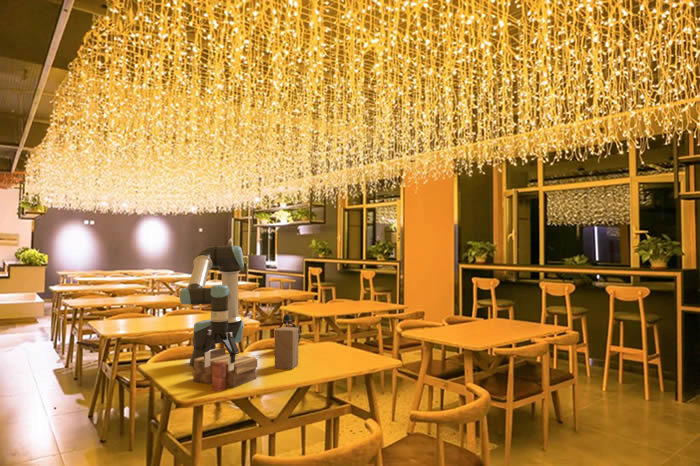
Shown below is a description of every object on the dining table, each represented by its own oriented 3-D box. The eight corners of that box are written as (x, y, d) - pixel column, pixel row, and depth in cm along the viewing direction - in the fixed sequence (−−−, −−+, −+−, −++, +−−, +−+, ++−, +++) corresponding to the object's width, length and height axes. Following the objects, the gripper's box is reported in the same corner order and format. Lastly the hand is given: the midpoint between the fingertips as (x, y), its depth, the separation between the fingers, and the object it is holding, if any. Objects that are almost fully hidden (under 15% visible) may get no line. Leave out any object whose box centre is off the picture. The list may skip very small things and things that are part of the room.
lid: (194, 368, 214) (194, 352, 214) (216, 361, 227) (216, 346, 228) (236, 374, 203) (236, 357, 203) (257, 367, 216) (257, 350, 216)
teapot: (284, 355, 267) (284, 315, 268) (266, 348, 287) (267, 311, 288) (302, 352, 274) (302, 314, 275) (284, 345, 294) (284, 309, 295)
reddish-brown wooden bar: (218, 388, 203) (218, 360, 203) (225, 389, 201) (225, 361, 201) (212, 390, 199) (212, 362, 200) (219, 391, 197) (219, 363, 198)
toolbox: (193, 381, 213) (193, 362, 214) (217, 373, 228) (217, 355, 228) (233, 387, 203) (233, 367, 203) (255, 378, 217) (256, 359, 217)
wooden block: (292, 369, 234) (292, 330, 235) (274, 368, 236) (274, 329, 237) (298, 364, 244) (298, 327, 245) (280, 364, 246) (281, 326, 247)
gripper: (192, 319, 203) (191, 366, 203) (235, 323, 192) (235, 374, 192) (204, 316, 210) (204, 362, 210) (247, 321, 199) (247, 369, 199)
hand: (219, 368), depth 201 cm, fingers open, 13 cm apart
